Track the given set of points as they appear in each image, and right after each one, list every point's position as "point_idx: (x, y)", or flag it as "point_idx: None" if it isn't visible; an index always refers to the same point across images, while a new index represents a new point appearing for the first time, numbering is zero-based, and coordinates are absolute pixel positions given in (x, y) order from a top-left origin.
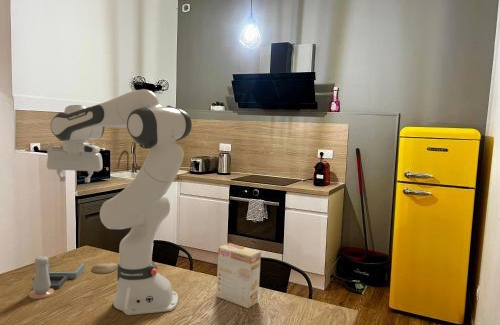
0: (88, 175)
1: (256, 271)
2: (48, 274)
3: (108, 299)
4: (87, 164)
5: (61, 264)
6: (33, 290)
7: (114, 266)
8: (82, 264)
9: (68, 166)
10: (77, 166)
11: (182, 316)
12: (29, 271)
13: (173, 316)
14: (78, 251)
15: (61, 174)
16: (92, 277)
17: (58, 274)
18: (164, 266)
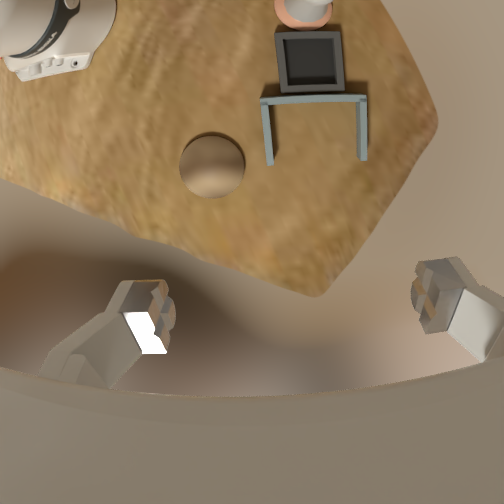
0: (91, 336)
1: None
2: (293, 3)
3: (131, 9)
4: (11, 472)
5: (339, 184)
6: (329, 14)
7: (187, 174)
8: (270, 159)
9: (434, 444)
10: (207, 475)
11: None
12: (396, 136)
13: None
14: (328, 269)
15: (473, 335)
16: (220, 108)
17: (309, 95)
18: (86, 205)
